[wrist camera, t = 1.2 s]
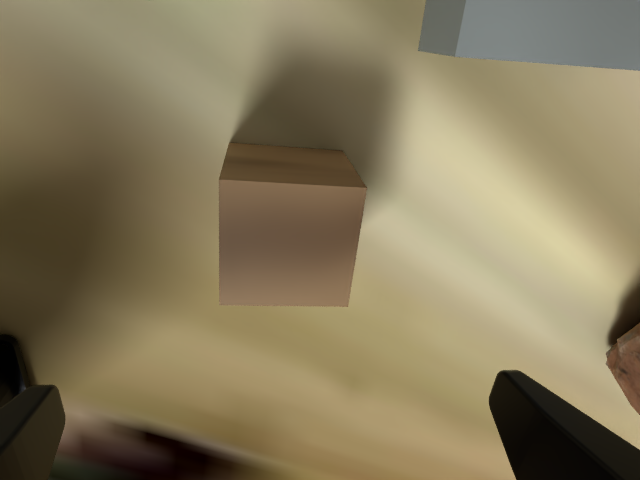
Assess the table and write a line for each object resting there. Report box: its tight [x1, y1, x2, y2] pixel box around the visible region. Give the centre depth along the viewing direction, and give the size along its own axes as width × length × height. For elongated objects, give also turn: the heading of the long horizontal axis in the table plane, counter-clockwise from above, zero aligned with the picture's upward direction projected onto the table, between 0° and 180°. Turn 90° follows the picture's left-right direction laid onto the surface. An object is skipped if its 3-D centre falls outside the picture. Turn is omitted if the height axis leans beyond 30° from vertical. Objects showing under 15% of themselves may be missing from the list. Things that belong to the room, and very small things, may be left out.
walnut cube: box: [219, 143, 367, 307], centre depth 17 cm, size 5×5×5 cm
